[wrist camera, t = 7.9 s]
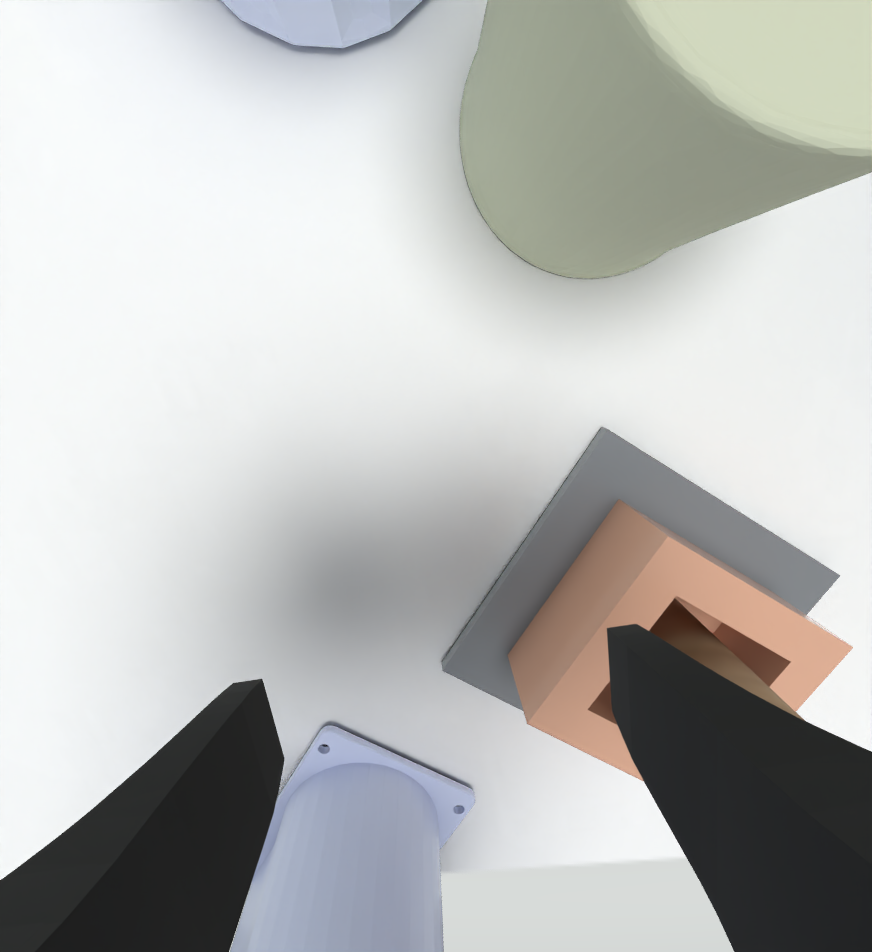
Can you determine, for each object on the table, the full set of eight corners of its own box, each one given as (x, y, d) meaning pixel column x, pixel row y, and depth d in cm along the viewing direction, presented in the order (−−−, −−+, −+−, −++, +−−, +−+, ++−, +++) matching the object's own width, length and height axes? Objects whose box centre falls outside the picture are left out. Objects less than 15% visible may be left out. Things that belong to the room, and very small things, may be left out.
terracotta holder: (658, 770, 23) (713, 867, 19) (441, 661, 21) (447, 742, 17) (828, 569, 21) (936, 627, 16) (601, 426, 19) (656, 450, 15)
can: (762, -17, 15) (1796, -1116, 4) (699, 290, 18) (1224, 183, 6) (474, -56, 15) (664, -1446, 3) (447, 266, 17) (503, 99, 6)
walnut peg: (655, 681, 20) (800, 882, 13) (587, 645, 20) (695, 831, 12) (706, 616, 20) (893, 785, 12) (637, 576, 19) (786, 727, 11)
